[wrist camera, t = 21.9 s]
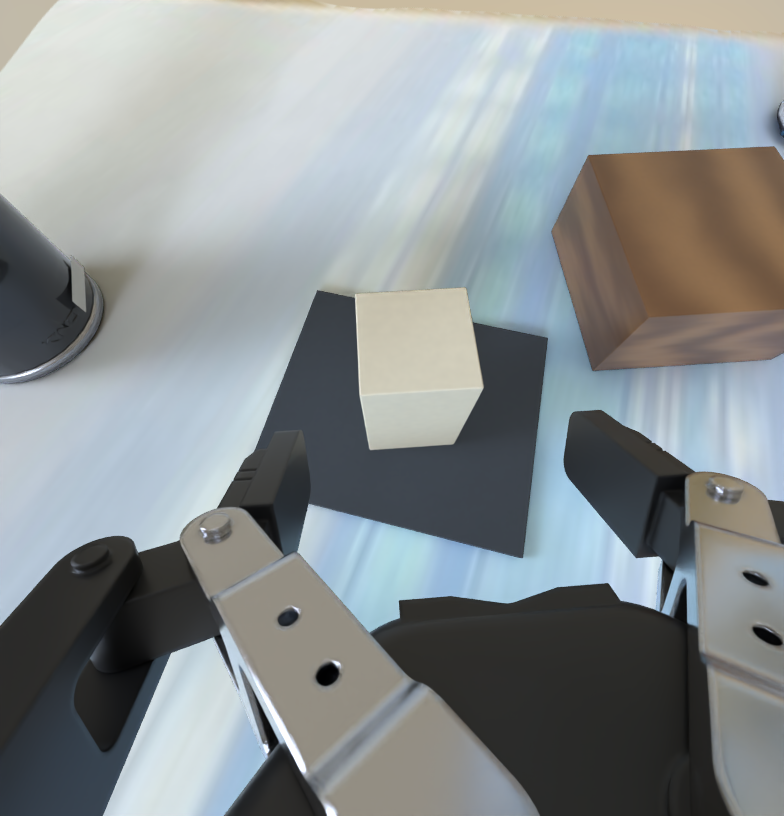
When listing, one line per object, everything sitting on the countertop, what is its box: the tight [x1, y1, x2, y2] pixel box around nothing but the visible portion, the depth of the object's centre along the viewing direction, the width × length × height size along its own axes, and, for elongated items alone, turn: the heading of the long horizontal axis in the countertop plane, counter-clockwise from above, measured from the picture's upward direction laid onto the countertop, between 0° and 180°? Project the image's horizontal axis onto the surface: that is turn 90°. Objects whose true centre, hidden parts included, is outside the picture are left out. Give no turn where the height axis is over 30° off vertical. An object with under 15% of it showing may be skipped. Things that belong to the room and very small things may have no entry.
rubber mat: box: [254, 290, 548, 558], centre depth 24 cm, size 16×14×1 cm
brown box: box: [552, 146, 784, 371], centre depth 25 cm, size 12×12×6 cm
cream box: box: [355, 287, 484, 450], centre depth 20 cm, size 5×5×8 cm
